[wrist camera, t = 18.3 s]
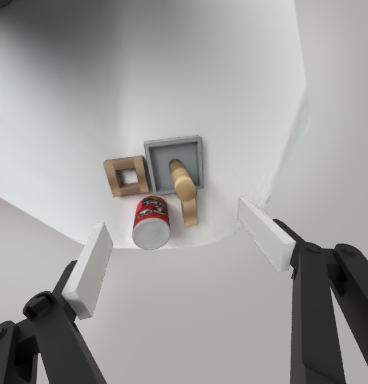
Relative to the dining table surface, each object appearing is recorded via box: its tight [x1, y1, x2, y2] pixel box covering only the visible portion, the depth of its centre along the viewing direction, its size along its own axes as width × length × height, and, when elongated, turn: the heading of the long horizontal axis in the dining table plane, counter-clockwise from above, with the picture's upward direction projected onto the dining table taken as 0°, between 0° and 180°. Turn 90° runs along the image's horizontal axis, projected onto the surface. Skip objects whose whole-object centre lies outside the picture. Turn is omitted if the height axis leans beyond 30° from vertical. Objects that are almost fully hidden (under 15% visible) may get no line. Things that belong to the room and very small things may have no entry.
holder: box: [103, 156, 149, 197], centre depth 38 cm, size 8×8×2 cm
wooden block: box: [181, 198, 197, 227], centre depth 43 cm, size 8×3×5 cm, turn 5°
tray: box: [144, 135, 203, 196], centre depth 39 cm, size 12×12×3 cm
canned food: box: [132, 196, 170, 250], centre depth 39 cm, size 8×8×11 cm
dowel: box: [169, 159, 197, 202], centre depth 33 cm, size 3×3×15 cm
